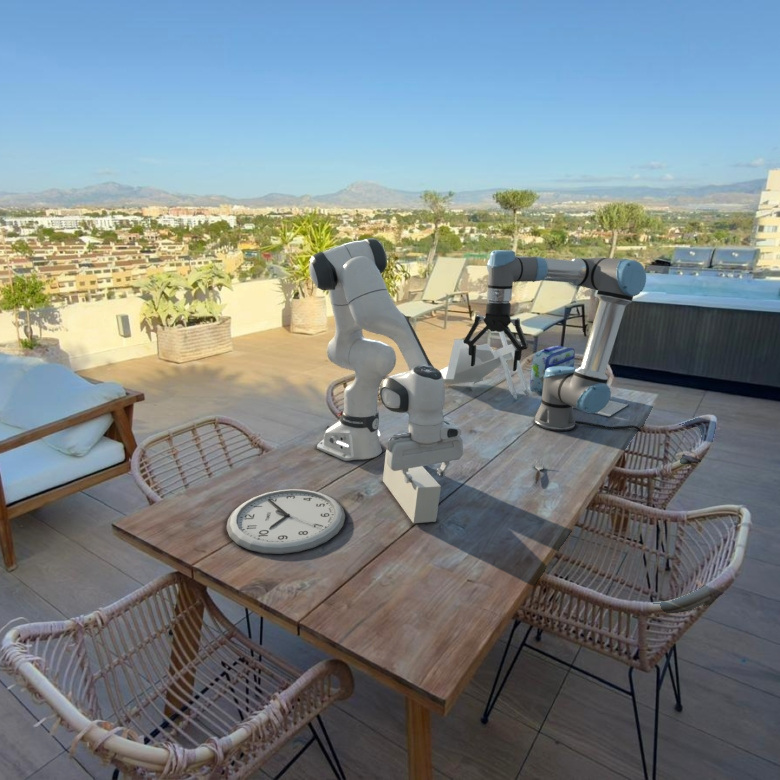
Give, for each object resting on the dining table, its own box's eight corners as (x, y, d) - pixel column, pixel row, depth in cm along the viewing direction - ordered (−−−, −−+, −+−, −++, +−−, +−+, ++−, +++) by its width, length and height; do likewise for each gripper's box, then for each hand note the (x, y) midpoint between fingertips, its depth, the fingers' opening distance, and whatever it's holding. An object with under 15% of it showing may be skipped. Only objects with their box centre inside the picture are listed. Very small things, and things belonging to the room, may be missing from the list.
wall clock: (345, 545, 122) (213, 550, 119) (345, 551, 122) (214, 556, 120) (344, 484, 150) (238, 487, 148) (345, 490, 151) (239, 492, 148)
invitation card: (608, 416, 214) (573, 407, 224) (608, 416, 214) (573, 408, 224) (628, 404, 229) (594, 396, 238) (628, 405, 229) (594, 397, 238)
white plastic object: (461, 429, 252) (437, 405, 227) (444, 352, 274) (420, 323, 250) (535, 404, 240) (518, 377, 215) (510, 326, 262) (492, 293, 237)
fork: (531, 484, 156) (531, 478, 156) (536, 462, 170) (536, 457, 170) (540, 485, 155) (541, 479, 155) (544, 464, 170) (545, 458, 169)
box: (382, 480, 156) (386, 449, 153) (402, 479, 158) (406, 448, 155) (413, 523, 134) (418, 487, 131) (436, 521, 136) (441, 486, 133)
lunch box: (546, 399, 235) (551, 353, 228) (525, 393, 242) (530, 349, 236) (574, 387, 252) (579, 345, 246) (553, 383, 260) (558, 341, 253)
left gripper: (392, 440, 126) (392, 491, 130) (467, 429, 133) (464, 477, 137) (383, 431, 132) (383, 480, 136) (455, 420, 139) (453, 467, 143)
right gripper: (456, 300, 164) (453, 366, 170) (538, 306, 155) (531, 374, 161) (462, 297, 170) (458, 360, 177) (541, 302, 162) (534, 369, 168)
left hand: (424, 478), depth 137 cm, fingers open, 8 cm apart
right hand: (493, 367), depth 169 cm, fingers open, 13 cm apart
